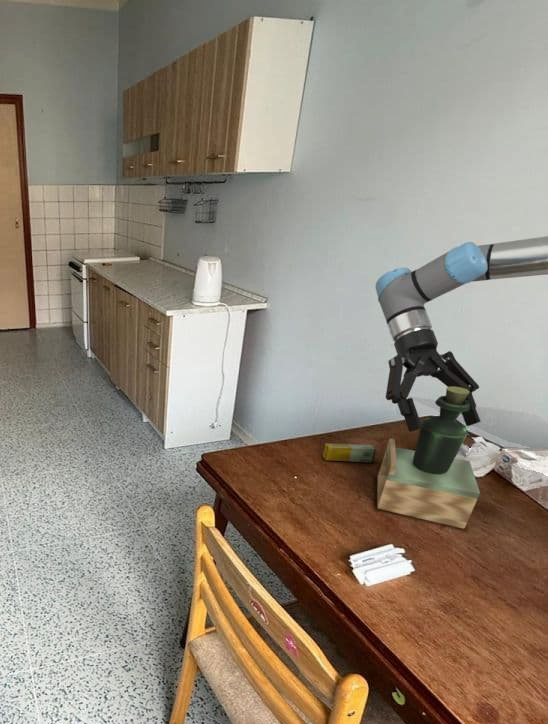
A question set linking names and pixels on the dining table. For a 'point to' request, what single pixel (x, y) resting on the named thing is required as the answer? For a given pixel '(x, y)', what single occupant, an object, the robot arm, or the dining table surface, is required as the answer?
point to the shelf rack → (426, 489)
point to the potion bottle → (442, 433)
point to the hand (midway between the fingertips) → (444, 427)
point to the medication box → (349, 452)
